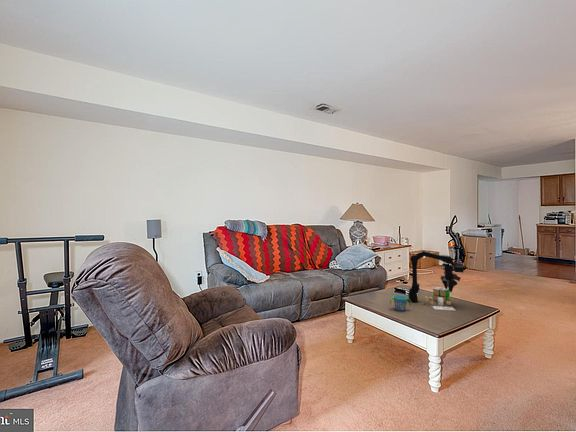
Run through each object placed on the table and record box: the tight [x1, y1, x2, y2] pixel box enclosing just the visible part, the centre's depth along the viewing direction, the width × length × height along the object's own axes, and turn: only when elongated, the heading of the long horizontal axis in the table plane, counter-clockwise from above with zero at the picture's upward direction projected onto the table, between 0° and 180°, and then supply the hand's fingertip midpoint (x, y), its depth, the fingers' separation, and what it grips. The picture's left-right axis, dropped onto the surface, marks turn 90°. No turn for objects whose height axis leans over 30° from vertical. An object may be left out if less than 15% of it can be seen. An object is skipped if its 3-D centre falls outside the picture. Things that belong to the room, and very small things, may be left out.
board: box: [431, 305, 457, 312], centre depth 218 cm, size 15×8×1 cm, turn 80°
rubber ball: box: [445, 300, 452, 306], centre depth 226 cm, size 4×4×4 cm
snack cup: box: [389, 294, 412, 312], centre depth 218 cm, size 16×10×10 cm
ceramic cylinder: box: [437, 297, 444, 307], centre depth 227 cm, size 4×4×6 cm
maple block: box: [424, 295, 434, 307], centre depth 229 cm, size 5×5×6 cm
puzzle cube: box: [432, 286, 451, 304], centre depth 239 cm, size 10×10×10 cm
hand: (448, 290), depth 226 cm, fingers open, 9 cm apart
